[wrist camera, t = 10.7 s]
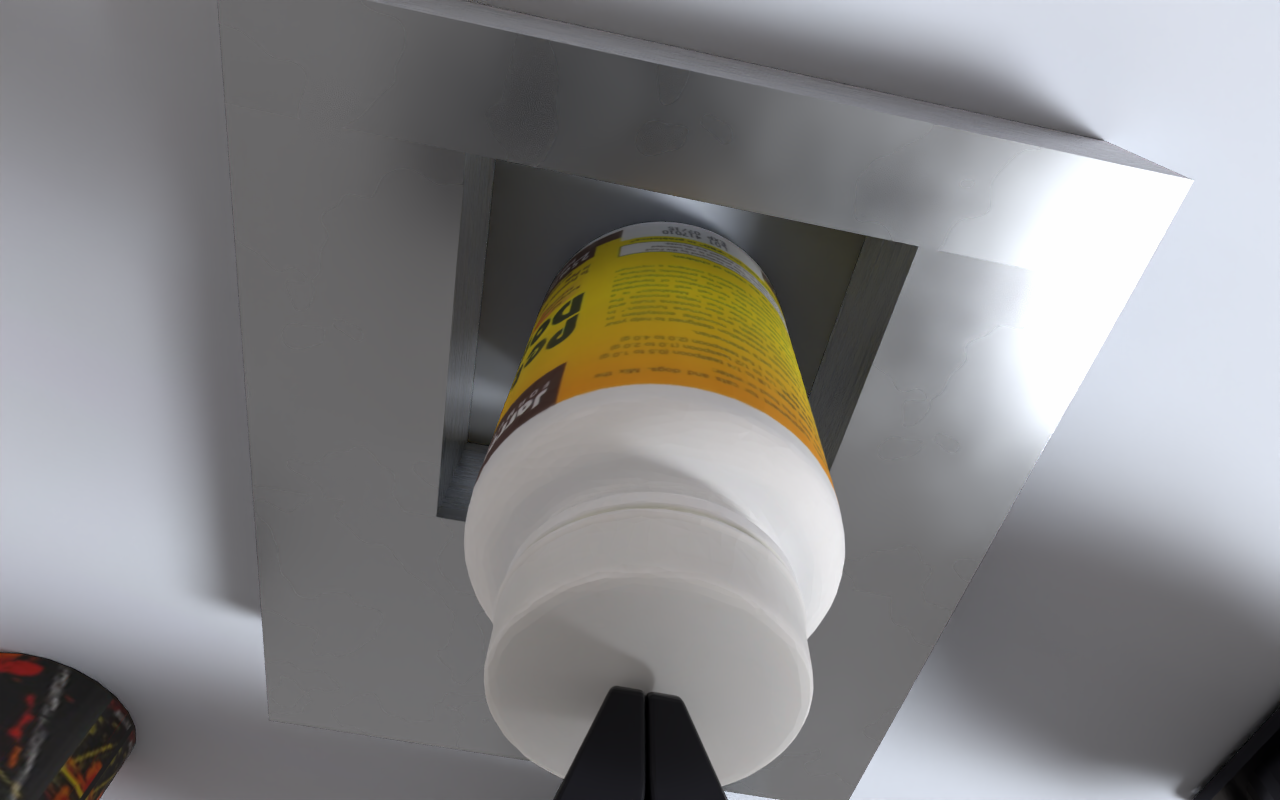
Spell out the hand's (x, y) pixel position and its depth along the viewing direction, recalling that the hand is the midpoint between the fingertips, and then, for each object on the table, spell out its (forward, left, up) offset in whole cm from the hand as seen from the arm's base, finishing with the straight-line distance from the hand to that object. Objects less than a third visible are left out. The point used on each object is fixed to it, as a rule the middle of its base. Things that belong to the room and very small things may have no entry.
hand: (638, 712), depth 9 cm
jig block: (-3, 0, -10) cm, 11 cm away
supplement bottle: (0, 0, -11) cm, 11 cm away
